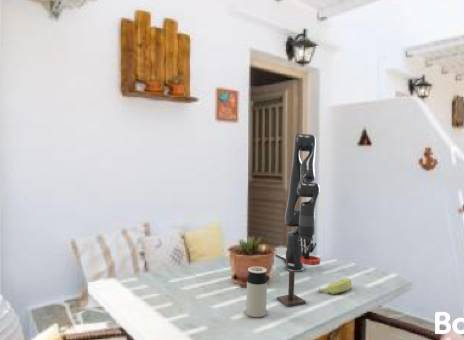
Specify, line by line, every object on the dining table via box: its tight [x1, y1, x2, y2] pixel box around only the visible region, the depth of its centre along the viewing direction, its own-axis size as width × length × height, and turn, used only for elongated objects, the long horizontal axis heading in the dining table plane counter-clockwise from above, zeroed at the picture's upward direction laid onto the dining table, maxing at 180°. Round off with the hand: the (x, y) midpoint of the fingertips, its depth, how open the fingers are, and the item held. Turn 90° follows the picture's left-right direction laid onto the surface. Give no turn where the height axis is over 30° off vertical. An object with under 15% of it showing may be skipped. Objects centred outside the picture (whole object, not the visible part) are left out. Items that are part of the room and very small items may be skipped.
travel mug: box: [245, 266, 268, 318], centre depth 154 cm, size 8×8×18 cm
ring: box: [301, 255, 321, 266], centre depth 182 cm, size 9×9×2 cm
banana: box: [318, 276, 353, 295], centre depth 185 cm, size 14×6×20 cm
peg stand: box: [276, 270, 307, 308], centre depth 168 cm, size 9×9×13 cm
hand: (305, 259), depth 185 cm, fingers closed on ring, 1 cm apart
